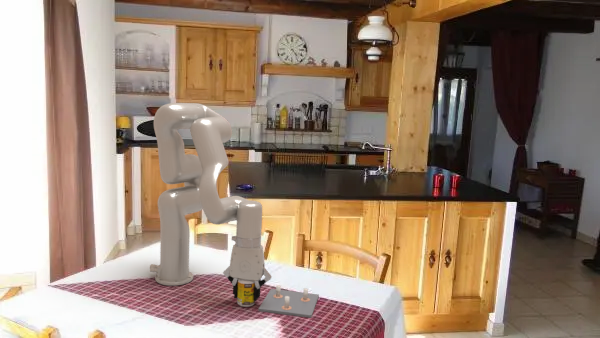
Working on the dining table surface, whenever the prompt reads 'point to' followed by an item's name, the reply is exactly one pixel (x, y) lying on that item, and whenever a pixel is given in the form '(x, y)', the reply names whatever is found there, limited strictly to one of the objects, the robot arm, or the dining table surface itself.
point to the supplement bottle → (245, 292)
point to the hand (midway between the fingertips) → (246, 297)
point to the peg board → (289, 302)
